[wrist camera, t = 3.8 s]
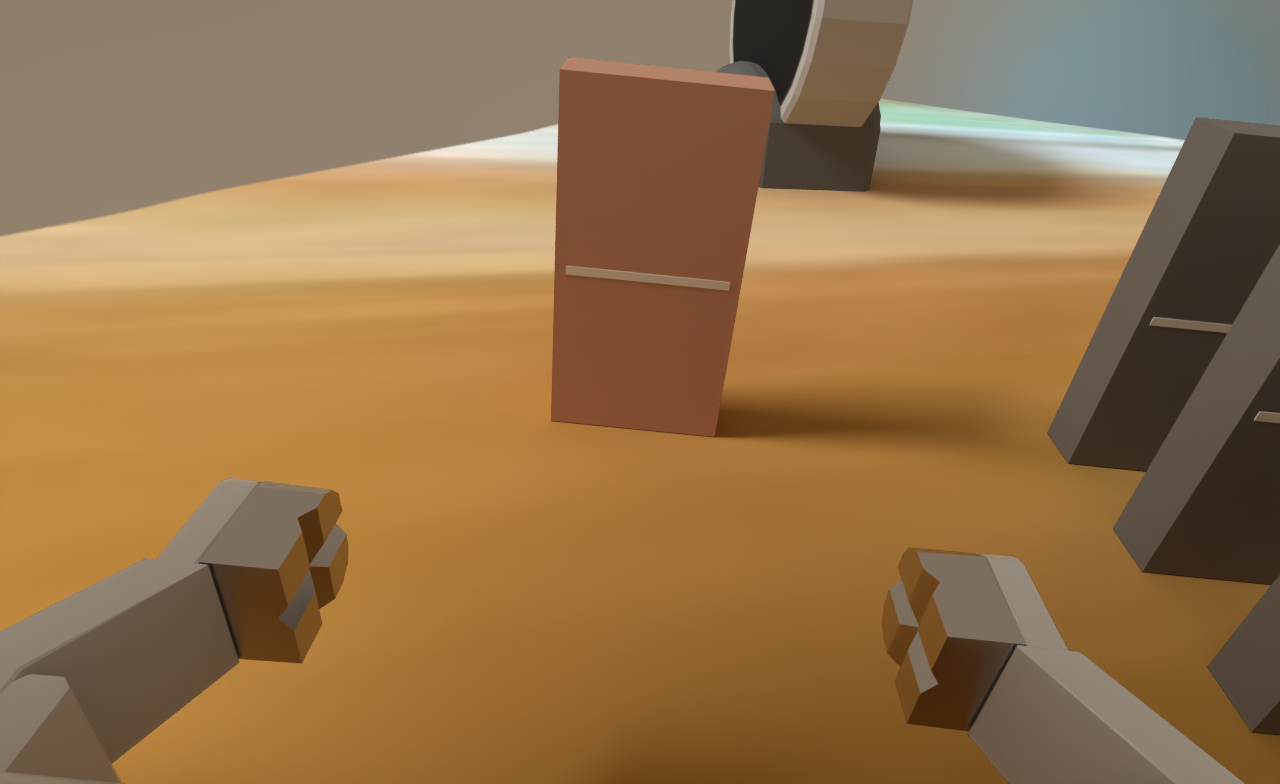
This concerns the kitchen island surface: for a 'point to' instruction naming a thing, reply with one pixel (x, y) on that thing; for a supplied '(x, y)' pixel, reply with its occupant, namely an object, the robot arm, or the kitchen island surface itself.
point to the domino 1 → (651, 240)
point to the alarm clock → (819, 84)
